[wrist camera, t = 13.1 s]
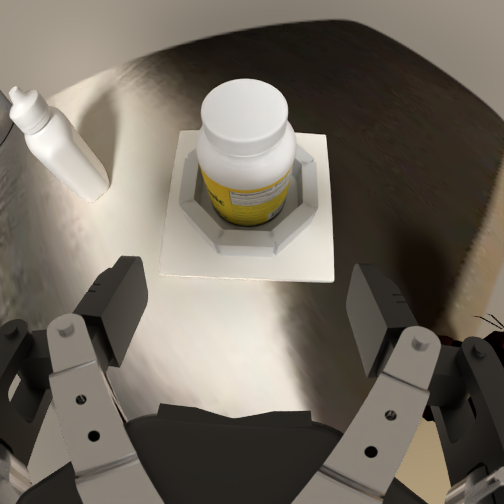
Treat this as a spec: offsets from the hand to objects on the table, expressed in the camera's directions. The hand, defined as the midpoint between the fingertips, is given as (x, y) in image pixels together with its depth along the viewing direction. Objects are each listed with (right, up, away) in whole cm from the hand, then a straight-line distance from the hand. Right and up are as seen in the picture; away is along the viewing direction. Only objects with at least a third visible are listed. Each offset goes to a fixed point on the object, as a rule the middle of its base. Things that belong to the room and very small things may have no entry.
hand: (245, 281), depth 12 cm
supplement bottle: (0, +5, +11) cm, 12 cm away
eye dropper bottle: (-14, +7, +12) cm, 20 cm away
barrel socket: (0, +5, +12) cm, 13 cm away
